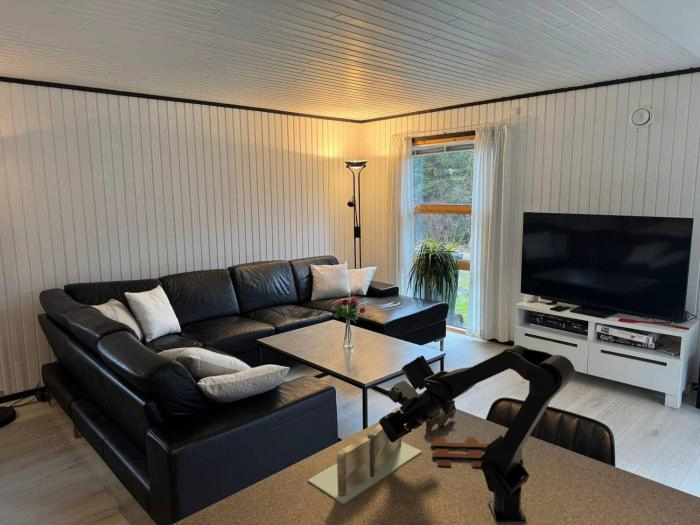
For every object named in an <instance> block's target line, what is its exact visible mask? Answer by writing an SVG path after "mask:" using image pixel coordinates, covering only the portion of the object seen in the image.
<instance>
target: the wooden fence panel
mask: <svg viewBox="0 0 700 525" xmlns="http://www.w3.org/2000/svg"><path fill="white" fill-rule="evenodd" d="M336 464H337V477H338V495H339V496H341V497H342V496H345V495H346V493H348V492H349V491H351V490H352V489H354V488H356V487H357V486H359V485H360V484H362V483H363V482H365V481H366V480H368V479H369V478H370V477H373V476H374V448H373V434H369V433H368V434H367V437H366V436H364V437H362V438H360V439H358V440H357V441H355V442H353V443H351V444H350V445H349V444H348V446H346V447H344V448H342V449H341V450H338V451H337V452H336Z"/></svg>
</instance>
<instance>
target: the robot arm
mask: <svg viewBox="0 0 700 525" xmlns="http://www.w3.org/2000/svg"><path fill="white" fill-rule="evenodd" d="M571 361H572V360H570V359H569V358H568V357H566V356H564V355H560V354H556V355H555V354H552V353H549V352H547V351H541V350H536V349H531V348H527V347H525V346H523V345H519V344H514V345H512V346H510V347H507V348H505V349H504V350H503V351H502V352H500V353H497V354H496V355H494V356H491V357H489V358H487V359H485V360H483V361H481V362H479V363H477V364H475V365H473V366H470V367H462V368H458V369H453V370H451V371H445V370H440V371H437V372H436V373H435V372H434V371H433V369H432V368H431V366H430V365H429V364H428V362H427V359H426V357H425V356H424V355H419V356H417V357H416V358H415V359H413V360H412V361H410V362H408V363H406V364H404V365H403V366H402V367H401V371H402V373H403V374H404V376H405V377H406V378H407V381H408V382H409V383H410V384H409V383H408V382H407V381H406V380H401V381H399V382H397V383H395V384H393V386H391V388H390V389H389V390H388V394H387V396H388V398H389V399H390V400H391V401H392V402H393V404H394V403H395V404H397V403H398V404H399V405H401V406H400V407H399V408H400V410H401V412H400V411H399V410H398V411H396V412H395V413H393V412H392V411H391V412H390V413H387V414H386V415H384V416H382V417H381V418H379V421H378V423H379V424H380V425H381V427H382V428H383V430H384V432H385V433H386V435H387V437H388V438H389V440H390V442H393V443H394V442H395V441H397V440H399V439H400V438H403V437H405V436H406V435H408V434H409V433H411V432H412V431H413V430H415V429H418V428H420V427H421V426H423V424H424V423H426V421H427V420H428V419H429V420H432V419H433V418H435V417H437V416H438V415H439V414H440V410H441V409H443V411H444V412H445V414H449V413H450V412H452V411H453V412H454V411H455V409H456V410H457V408H456V404H455V403H456V401H455V399H457V398H458V397H461V396H462V395H464V394H465V393H467V392H468V391H469V390H471V389H472V388H473V387H475V386H476V385H477V384H479V383H480V382H483V381H485V380H488V379H489V378H492V377H495V376H496V375H498V374H501V373H502V372H505V371H507V370H513V372H516V374H518V375H519V376H520V377H522V379H523V380H526V381H527V382H529V383H528V395H527V396H526V398H525V400H524V401H523V403H522V405H521V406H520V408H519V410H518V412H517V413H516V415H515V417H514V419H513V420H512V422H511V424H510V426H509V427H508V429H507V430H506V432H505V434H504V436H502V435H501V434H500V435H499V436H498V437H496V438H495V439H494V440H492V441H491V442H490V443H487V444H488V445H487V447H486V450H484V453H483V454H484V455H482V456H481V457H480V459H483V460H482V462H481V468H482V469H481V470H482V473H483V475H484V480H485V482H486V487H487V489H488V491H489V492H491V493H492V494H493V499H489V500H488V505H489V508H490V510H491V512H492V514H493V516H494V520H495V521H496V522H526V521H527V517H526V515H525V513H524V511H523V509H522V486H523V485H524V484H526V483H527V481H528V479H529V478H530V474H529V472H528V471H527V470H526V468H525V467H524V465H523V464H522V462H520V460H521V457H522V458H523V447H524V445H525V444H526V442H527V440H528V439H529V437H530V435H531V434H532V432H533V430H535V427H536V426H537V424H538V423H539V420H540V419H541V417H542V416H543V415H544V412H545V411H546V409H547V407H548V406H549V404H550V402H551V401H552V400H553V399H554V398H555V397H556V396H557V395H558V394H559V393H561V391H562V390H563V389H564V388H565V387H567V386H568V384H569V383H571V381H572V380H573V379H574V378H575V375H576V369H575V366H574V365H573V363H572V362H571ZM417 389H418V390H419V391H422V390H423V389H424V391H422V392H421V393H418V392H417Z"/></svg>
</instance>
